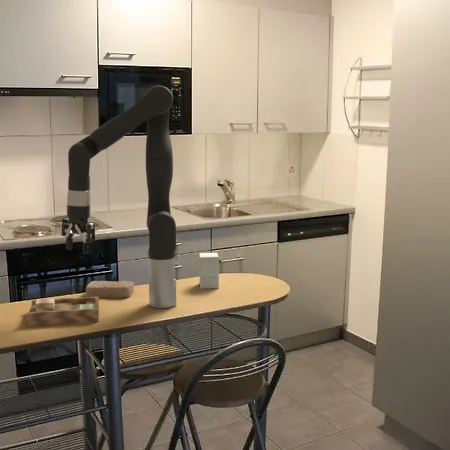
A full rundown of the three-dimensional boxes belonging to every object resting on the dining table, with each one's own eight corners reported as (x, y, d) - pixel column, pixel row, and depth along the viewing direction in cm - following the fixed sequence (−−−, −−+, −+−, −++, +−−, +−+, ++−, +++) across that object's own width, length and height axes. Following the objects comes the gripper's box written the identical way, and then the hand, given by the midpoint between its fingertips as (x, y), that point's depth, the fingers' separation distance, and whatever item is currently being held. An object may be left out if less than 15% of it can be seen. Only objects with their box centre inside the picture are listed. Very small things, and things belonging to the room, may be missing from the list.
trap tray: (98, 308, 212) (98, 296, 211) (98, 321, 198) (98, 309, 197) (32, 312, 208) (31, 300, 207) (27, 326, 194) (26, 313, 193)
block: (54, 306, 204) (54, 298, 203) (53, 310, 199) (53, 302, 199) (37, 307, 203) (37, 299, 202) (36, 311, 198) (35, 303, 198)
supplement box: (217, 283, 243) (218, 252, 240) (218, 288, 235) (219, 256, 233) (199, 283, 242) (199, 252, 240) (199, 288, 235) (199, 256, 233)
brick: (85, 297, 225) (84, 285, 224) (91, 291, 233) (91, 279, 232) (129, 299, 223) (129, 286, 222) (134, 292, 231) (134, 280, 231)
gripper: (101, 205, 202) (100, 253, 205) (73, 200, 210) (72, 246, 213) (84, 206, 196) (82, 256, 199) (55, 201, 204) (55, 249, 207)
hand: (77, 251), depth 206 cm, fingers open, 8 cm apart
